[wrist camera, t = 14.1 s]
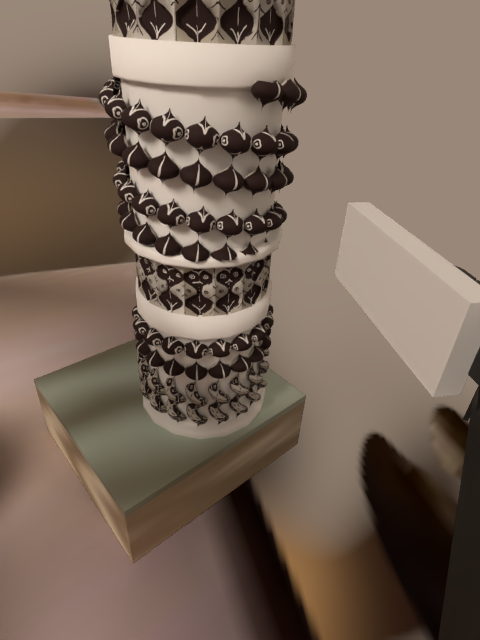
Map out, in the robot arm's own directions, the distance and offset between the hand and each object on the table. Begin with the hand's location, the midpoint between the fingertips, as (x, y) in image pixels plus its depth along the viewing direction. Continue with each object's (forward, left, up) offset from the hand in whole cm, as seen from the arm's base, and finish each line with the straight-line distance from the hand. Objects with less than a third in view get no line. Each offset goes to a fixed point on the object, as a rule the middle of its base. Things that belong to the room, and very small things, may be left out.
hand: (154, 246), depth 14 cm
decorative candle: (-6, +7, -15) cm, 18 cm away
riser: (-8, +5, -20) cm, 22 cm away
